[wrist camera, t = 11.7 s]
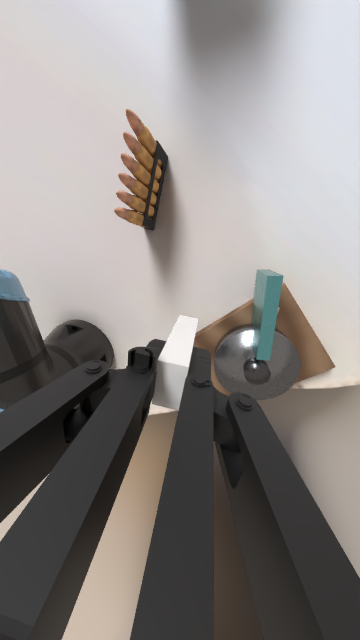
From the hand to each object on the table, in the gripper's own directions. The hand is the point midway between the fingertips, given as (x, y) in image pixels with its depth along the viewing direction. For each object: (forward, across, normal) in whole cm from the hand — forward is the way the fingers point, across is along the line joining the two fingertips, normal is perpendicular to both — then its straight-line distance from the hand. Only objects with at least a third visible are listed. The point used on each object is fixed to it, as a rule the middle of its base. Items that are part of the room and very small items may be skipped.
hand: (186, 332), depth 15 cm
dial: (+18, +11, -7) cm, 23 cm away
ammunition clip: (+22, -10, +13) cm, 27 cm away
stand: (+21, +12, -11) cm, 27 cm away
